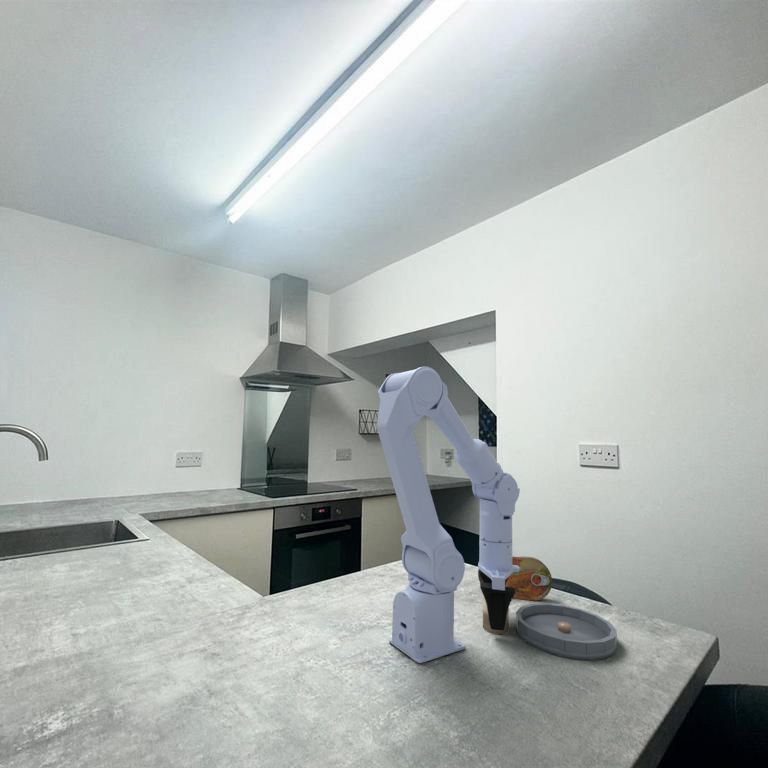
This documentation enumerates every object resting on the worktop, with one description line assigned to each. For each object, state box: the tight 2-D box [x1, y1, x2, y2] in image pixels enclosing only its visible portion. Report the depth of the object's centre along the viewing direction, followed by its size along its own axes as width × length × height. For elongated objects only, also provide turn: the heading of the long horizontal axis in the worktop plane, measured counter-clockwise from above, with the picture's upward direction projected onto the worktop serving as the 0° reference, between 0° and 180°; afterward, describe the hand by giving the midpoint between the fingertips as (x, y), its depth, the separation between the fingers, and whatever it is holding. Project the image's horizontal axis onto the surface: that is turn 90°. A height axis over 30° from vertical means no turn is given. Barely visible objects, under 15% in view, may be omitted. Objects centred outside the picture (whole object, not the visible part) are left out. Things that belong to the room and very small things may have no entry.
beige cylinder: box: [482, 594, 510, 635], centre depth 74 cm, size 4×4×6 cm
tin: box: [477, 554, 553, 602], centre depth 90 cm, size 15×3×8 cm, turn 75°
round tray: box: [515, 602, 618, 661], centre depth 71 cm, size 16×16×2 cm
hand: (495, 619), depth 74 cm, fingers open, 7 cm apart
